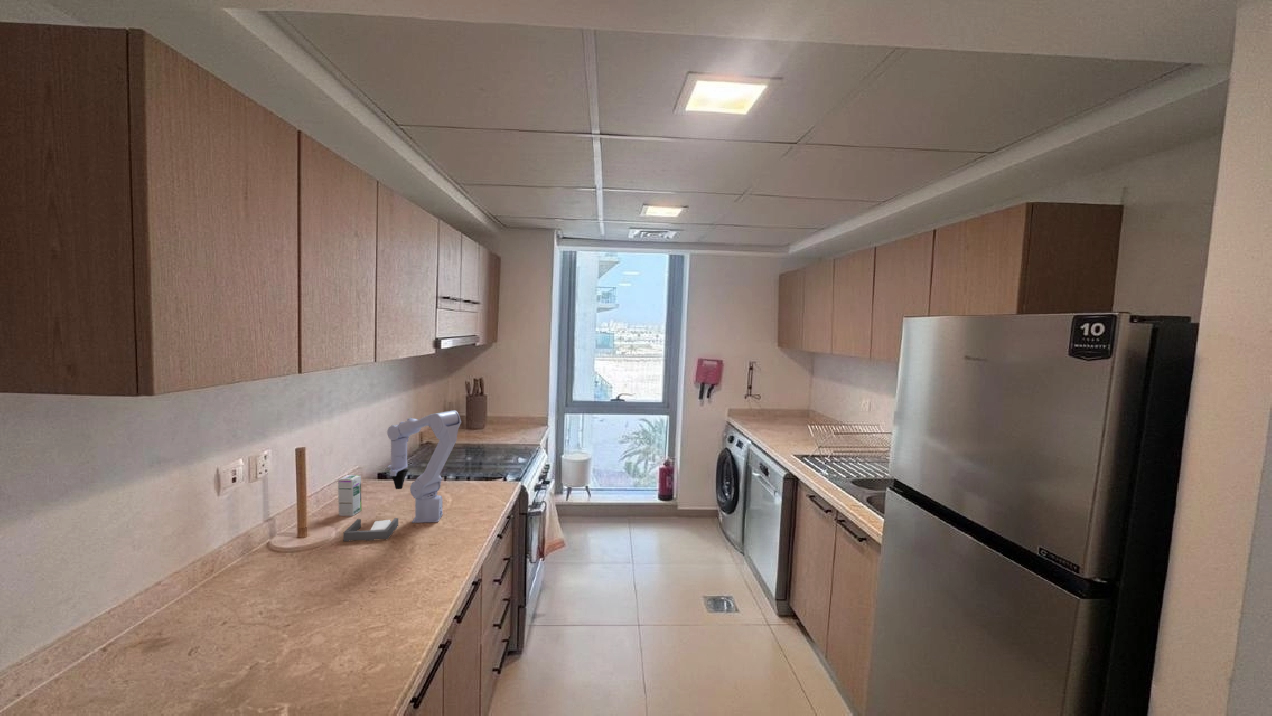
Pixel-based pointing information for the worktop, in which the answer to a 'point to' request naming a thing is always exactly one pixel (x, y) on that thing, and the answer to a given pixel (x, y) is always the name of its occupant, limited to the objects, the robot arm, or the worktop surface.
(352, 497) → the syrup box
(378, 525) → the soap
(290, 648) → the worktop surface
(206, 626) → the worktop surface
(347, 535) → the box
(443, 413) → the robot arm
